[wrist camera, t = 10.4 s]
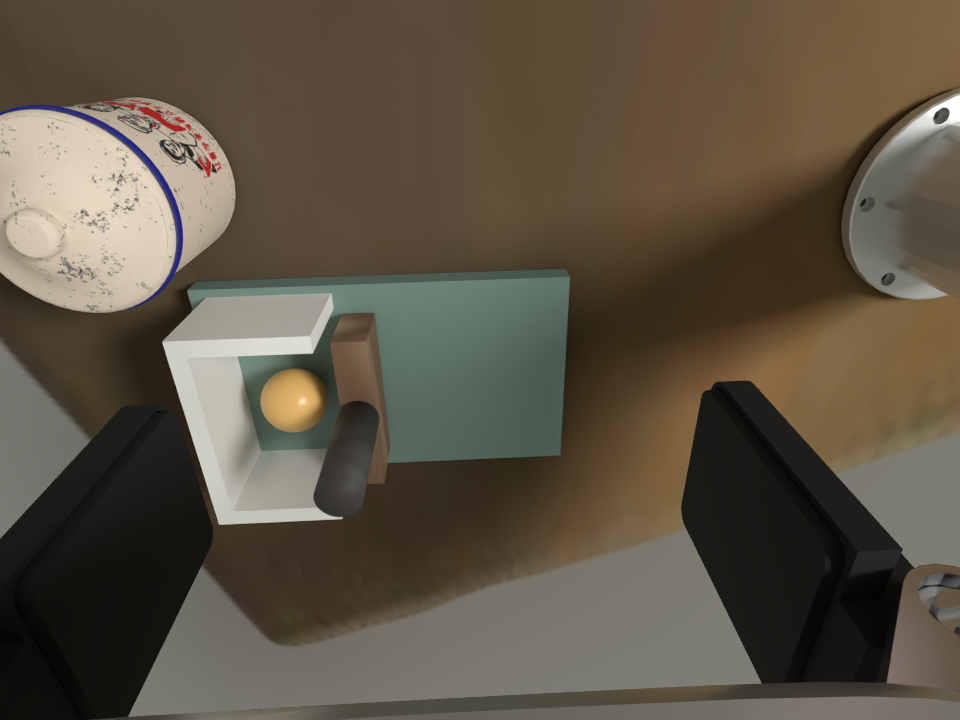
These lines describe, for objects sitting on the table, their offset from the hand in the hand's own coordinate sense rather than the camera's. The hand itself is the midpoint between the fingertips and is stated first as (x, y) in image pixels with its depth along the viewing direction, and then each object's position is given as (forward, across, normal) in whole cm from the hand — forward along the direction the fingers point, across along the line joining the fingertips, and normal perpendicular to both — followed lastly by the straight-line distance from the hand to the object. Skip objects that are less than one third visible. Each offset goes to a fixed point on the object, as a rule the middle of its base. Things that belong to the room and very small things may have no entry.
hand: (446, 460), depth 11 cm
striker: (+25, +6, +12) cm, 28 cm away
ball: (+23, +10, +12) cm, 28 cm away
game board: (+26, +4, +12) cm, 29 cm away
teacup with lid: (+26, +18, -1) cm, 32 cm away
